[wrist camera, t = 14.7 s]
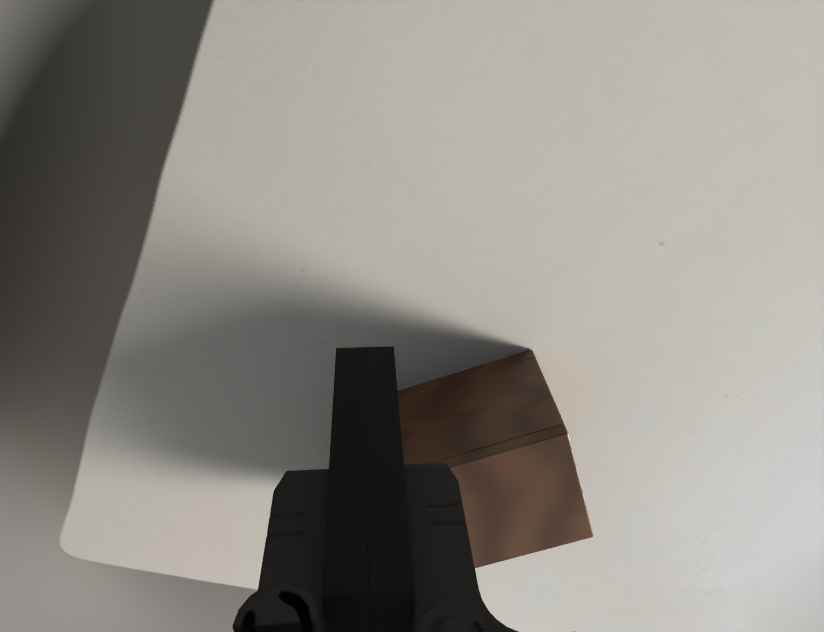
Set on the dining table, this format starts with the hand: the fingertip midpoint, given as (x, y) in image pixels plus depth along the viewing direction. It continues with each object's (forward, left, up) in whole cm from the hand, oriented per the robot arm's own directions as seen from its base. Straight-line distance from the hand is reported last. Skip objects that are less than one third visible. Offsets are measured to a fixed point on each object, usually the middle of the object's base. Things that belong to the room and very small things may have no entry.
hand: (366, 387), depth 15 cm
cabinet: (+25, +8, -23) cm, 35 cm away
